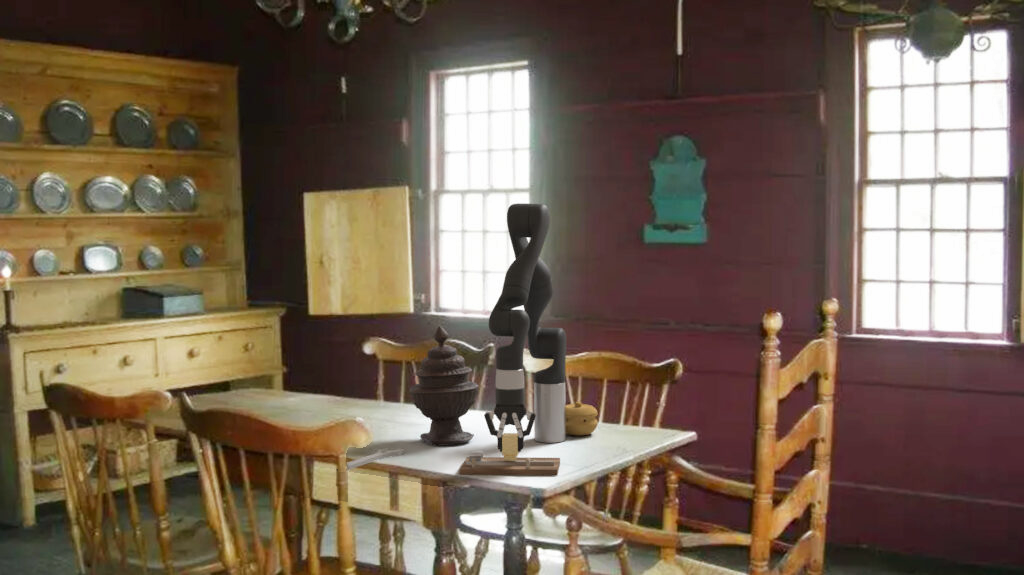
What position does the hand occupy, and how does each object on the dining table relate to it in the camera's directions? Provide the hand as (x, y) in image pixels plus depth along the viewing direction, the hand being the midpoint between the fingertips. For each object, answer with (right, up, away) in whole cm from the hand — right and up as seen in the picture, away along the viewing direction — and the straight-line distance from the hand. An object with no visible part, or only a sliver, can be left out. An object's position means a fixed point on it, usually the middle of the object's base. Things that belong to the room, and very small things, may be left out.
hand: (510, 450), depth 288 cm
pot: (+20, -2, +46) cm, 50 cm away
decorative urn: (-20, -3, +37) cm, 42 cm away
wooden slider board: (0, -5, 0) cm, 5 cm away
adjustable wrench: (-39, -5, +13) cm, 41 cm away
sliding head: (0, -3, 0) cm, 3 cm away
